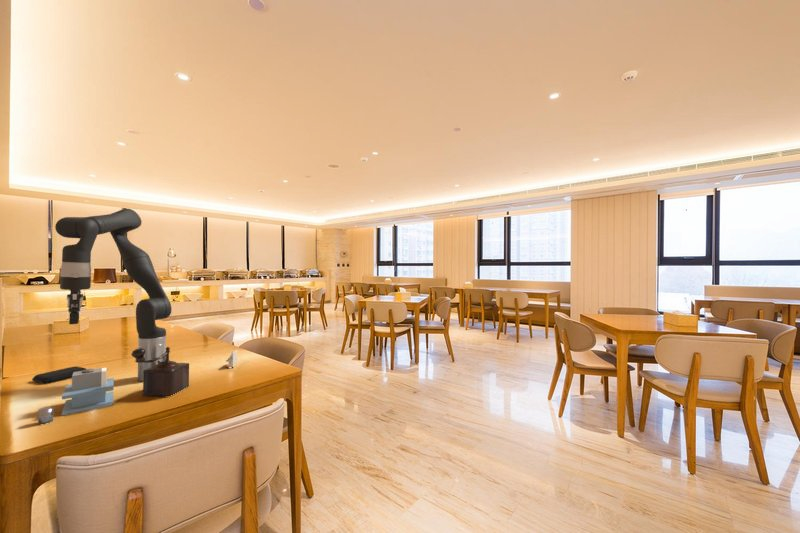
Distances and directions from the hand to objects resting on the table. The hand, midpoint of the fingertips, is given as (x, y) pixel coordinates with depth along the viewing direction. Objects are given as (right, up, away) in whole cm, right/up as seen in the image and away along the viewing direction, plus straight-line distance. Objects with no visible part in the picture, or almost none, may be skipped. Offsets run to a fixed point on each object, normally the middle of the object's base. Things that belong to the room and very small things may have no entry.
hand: (74, 322), depth 112 cm
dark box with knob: (+25, -28, +7) cm, 38 cm away
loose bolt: (+7, -27, -16) cm, 32 cm away
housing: (+8, -21, -3) cm, 23 cm away
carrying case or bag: (-27, -28, +22) cm, 44 cm away
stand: (+8, -27, -3) cm, 29 cm away
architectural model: (+34, -28, +40) cm, 60 cm away
